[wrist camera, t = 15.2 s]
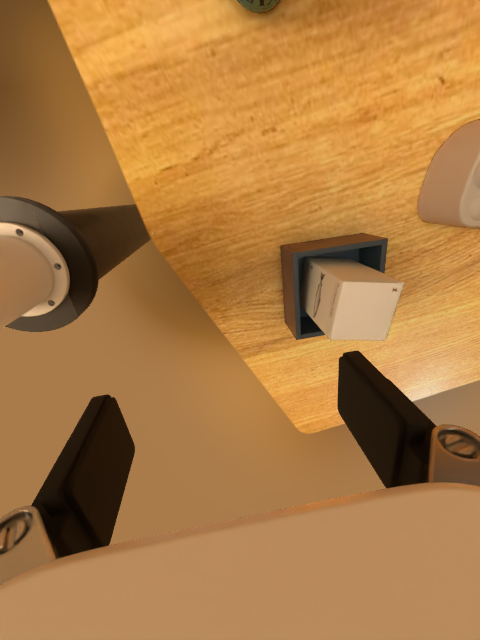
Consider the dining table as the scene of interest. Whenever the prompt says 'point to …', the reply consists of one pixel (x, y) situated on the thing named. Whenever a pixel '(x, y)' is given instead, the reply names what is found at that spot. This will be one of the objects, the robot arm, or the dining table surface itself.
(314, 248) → the dark grey storage bin
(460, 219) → the lumpy-topped squat cylinder
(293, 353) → the dining table surface
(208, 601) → the robot arm
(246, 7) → the beverage bottle
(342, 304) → the white packaging box
